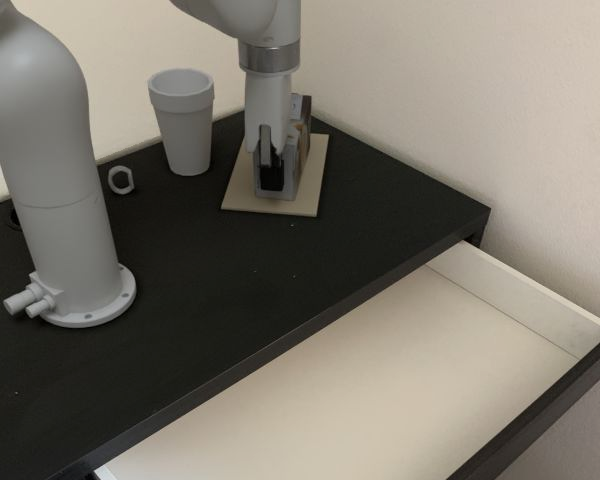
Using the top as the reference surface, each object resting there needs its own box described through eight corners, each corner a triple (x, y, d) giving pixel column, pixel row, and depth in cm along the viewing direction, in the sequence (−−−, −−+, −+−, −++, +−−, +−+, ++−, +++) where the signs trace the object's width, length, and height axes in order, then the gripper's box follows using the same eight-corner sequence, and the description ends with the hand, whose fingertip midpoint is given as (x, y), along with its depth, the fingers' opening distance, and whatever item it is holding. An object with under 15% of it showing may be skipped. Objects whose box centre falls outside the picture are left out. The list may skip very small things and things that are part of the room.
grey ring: (111, 197, 98) (106, 172, 95) (109, 189, 100) (105, 164, 97) (135, 194, 99) (131, 169, 96) (134, 186, 100) (130, 162, 97)
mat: (316, 216, 96) (316, 214, 96) (221, 209, 97) (221, 206, 97) (328, 137, 112) (328, 134, 112) (247, 130, 113) (246, 128, 113)
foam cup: (209, 184, 101) (201, 99, 92) (151, 176, 102) (137, 92, 93) (225, 154, 107) (220, 71, 98) (171, 147, 109) (160, 64, 99)
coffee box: (296, 144, 91) (312, 92, 102) (251, 140, 92) (271, 88, 102) (295, 202, 98) (310, 148, 109) (253, 198, 99) (272, 144, 109)
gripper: (249, 25, 85) (254, 158, 99) (226, 76, 75) (236, 216, 89) (307, 29, 84) (304, 162, 98) (292, 81, 74) (291, 220, 88)
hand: (272, 187), depth 93 cm, fingers closed
